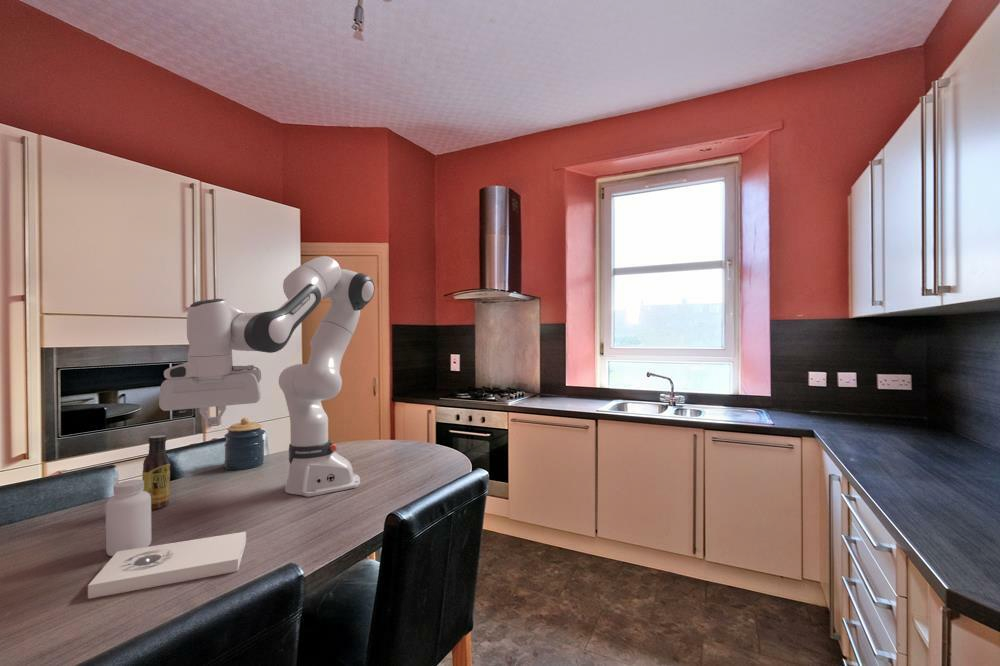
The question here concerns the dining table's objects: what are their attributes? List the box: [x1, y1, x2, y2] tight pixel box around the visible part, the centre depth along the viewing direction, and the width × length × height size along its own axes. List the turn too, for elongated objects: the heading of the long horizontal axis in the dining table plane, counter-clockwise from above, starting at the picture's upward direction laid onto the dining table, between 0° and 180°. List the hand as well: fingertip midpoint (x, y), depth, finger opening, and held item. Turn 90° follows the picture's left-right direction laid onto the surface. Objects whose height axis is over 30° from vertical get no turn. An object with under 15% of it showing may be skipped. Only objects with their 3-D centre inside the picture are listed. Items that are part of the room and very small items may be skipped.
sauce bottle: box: [141, 434, 171, 511], centre depth 127 cm, size 7×6×20 cm
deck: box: [87, 531, 247, 600], centre depth 94 cm, size 24×14×2 cm, turn 114°
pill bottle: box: [105, 479, 152, 557], centre depth 102 cm, size 8×8×15 cm
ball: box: [134, 556, 153, 566], centre depth 91 cm, size 3×3×3 cm
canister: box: [223, 417, 265, 471], centre depth 167 cm, size 13×13×18 cm
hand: (213, 425), depth 107 cm, fingers closed
